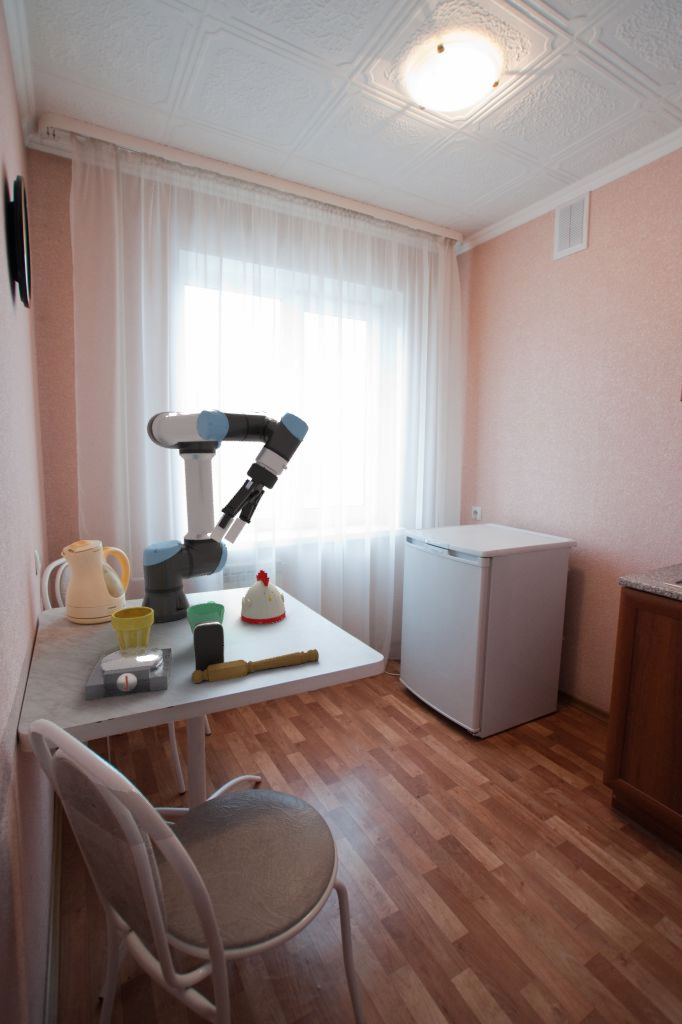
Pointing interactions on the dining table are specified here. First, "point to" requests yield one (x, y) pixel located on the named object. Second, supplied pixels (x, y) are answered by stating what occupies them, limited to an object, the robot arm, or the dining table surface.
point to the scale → (130, 672)
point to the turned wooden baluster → (250, 666)
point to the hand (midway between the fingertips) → (221, 540)
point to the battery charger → (208, 644)
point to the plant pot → (132, 626)
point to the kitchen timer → (262, 602)
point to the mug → (205, 613)
